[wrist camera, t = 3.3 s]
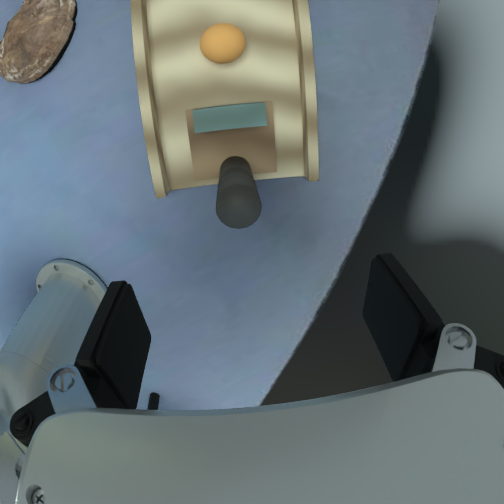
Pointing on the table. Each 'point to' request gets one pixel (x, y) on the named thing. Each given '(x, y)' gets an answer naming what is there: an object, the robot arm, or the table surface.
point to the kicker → (233, 155)
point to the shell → (36, 39)
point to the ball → (222, 43)
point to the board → (224, 80)
